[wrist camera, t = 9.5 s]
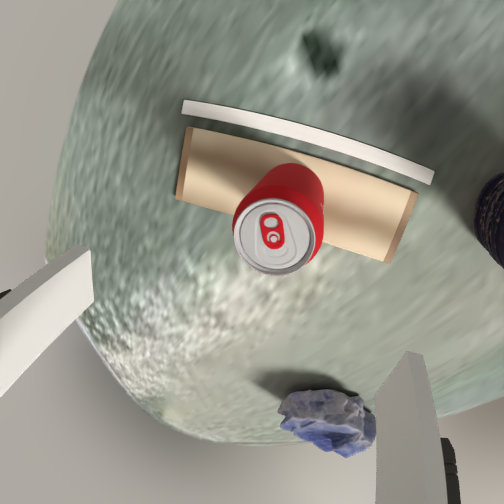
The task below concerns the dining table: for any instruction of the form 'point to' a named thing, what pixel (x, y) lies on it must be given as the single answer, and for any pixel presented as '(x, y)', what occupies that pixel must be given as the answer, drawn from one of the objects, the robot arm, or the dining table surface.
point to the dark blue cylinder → (491, 218)
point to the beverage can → (281, 220)
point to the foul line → (309, 137)
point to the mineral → (329, 421)
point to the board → (330, 174)
